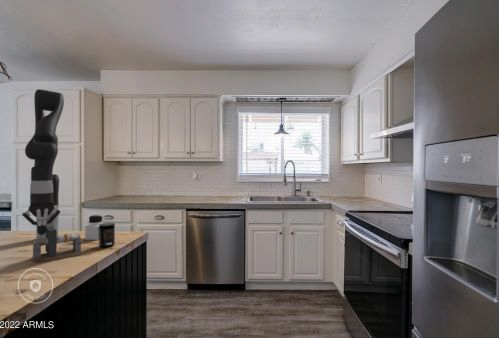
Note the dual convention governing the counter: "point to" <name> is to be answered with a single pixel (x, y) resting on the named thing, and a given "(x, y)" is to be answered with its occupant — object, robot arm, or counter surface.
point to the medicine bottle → (93, 227)
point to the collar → (51, 241)
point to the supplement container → (106, 235)
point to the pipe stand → (60, 254)
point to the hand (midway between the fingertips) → (41, 234)
